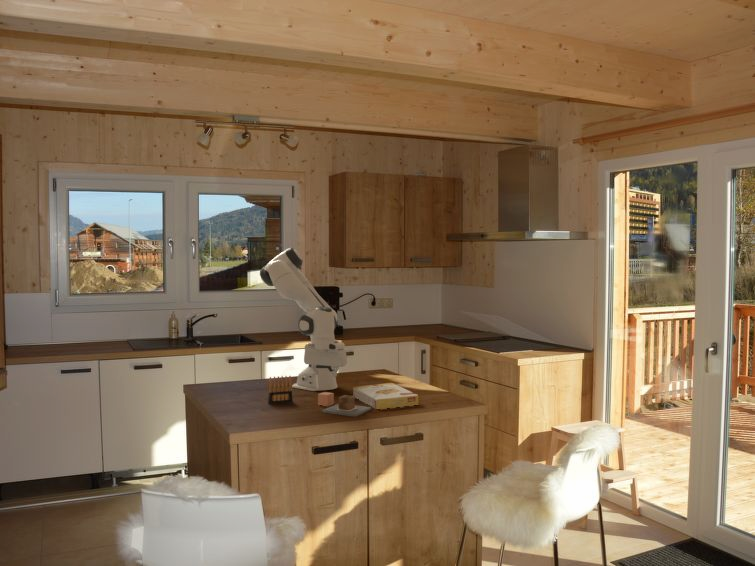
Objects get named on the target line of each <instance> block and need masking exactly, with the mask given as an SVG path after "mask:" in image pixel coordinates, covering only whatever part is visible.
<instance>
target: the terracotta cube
mask: <svg viewBox="0 0 755 566" xmlns="http://www.w3.org/2000/svg"><path fill="white" fill-rule="evenodd" d="M334 397H335V393H334V392H327V391H323V392H320V393H317V405H318V406H320V405H322V407H331V406H334V405H335V398H334Z"/></svg>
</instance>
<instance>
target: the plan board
mask: <svg viewBox="0 0 755 566" xmlns="http://www.w3.org/2000/svg"><path fill="white" fill-rule="evenodd" d="M369 411H372V407H371V406H365V405H364V406H363V405H356V404H355V408H353V409H351V410H342V409H339V402H338V403H336V404H333V405H330V406H328V407H327V408H324V409H322V410H321V413H322V412H323V414H331V415H337V414H338V415H339V416H346V417H354V418H356V417H359V416H361V415H363V414H364V413H367V412H369Z"/></svg>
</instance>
